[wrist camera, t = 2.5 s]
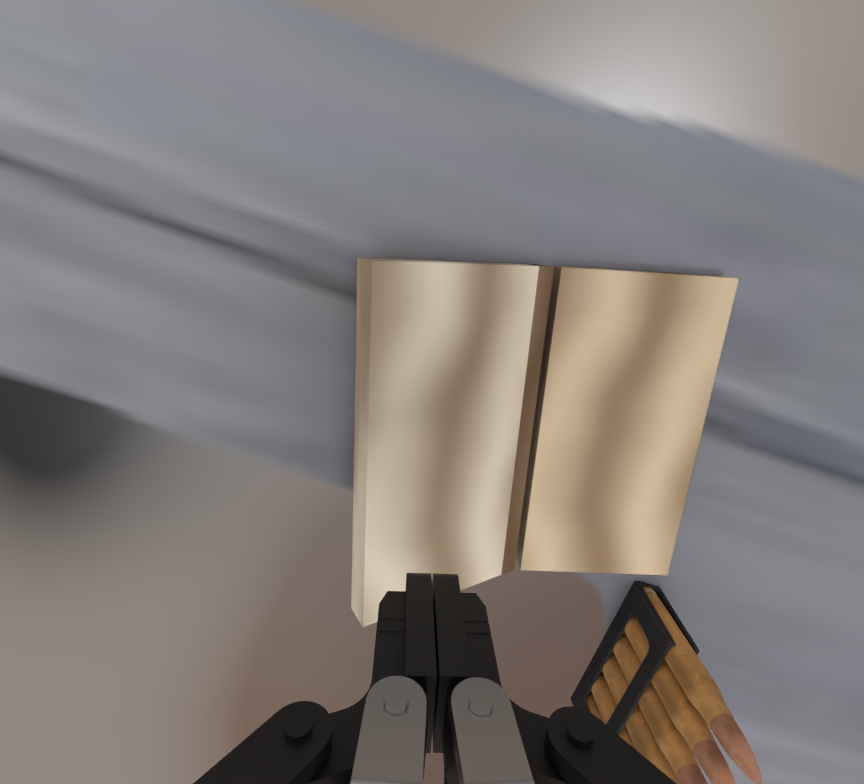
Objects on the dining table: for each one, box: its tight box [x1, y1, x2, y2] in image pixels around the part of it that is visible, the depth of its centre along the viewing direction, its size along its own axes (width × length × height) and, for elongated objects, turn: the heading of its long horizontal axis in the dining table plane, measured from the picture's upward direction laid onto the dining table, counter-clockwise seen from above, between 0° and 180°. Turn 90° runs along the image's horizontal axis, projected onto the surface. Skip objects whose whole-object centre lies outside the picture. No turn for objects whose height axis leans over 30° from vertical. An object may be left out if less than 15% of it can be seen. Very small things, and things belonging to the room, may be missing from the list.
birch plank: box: [351, 258, 554, 627], centre depth 26 cm, size 10×18×2 cm, turn 176°
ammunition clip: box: [571, 582, 762, 784], centre depth 28 cm, size 11×2×12 cm, turn 161°
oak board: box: [516, 266, 739, 575], centre depth 29 cm, size 9×18×2 cm, turn 176°
